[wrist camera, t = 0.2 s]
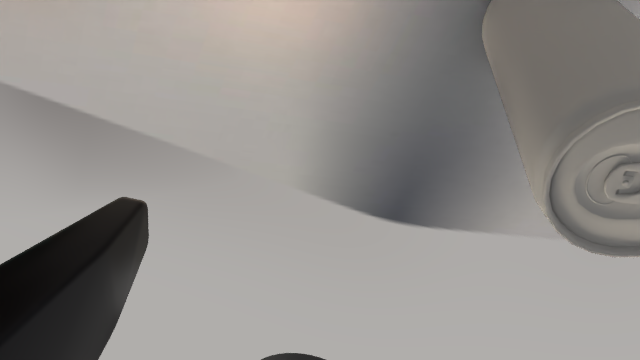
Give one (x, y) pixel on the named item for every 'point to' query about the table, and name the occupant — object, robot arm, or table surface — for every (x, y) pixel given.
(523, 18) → the beverage can
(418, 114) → the table surface
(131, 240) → the robot arm
